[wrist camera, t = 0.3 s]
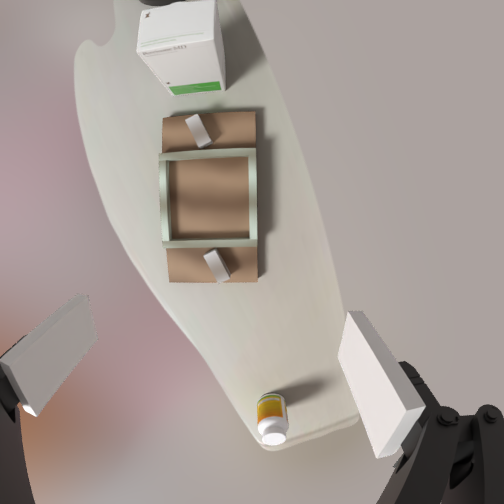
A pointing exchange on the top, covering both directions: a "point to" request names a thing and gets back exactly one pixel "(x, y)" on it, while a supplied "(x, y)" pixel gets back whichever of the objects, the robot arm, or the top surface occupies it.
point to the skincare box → (184, 46)
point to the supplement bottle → (272, 419)
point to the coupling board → (209, 197)
